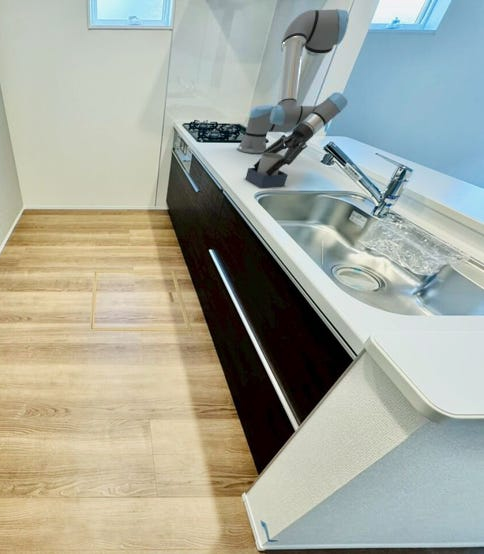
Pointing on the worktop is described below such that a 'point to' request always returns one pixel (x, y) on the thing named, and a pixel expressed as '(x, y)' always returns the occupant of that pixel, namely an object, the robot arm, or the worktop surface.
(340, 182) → the worktop surface
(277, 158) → the cup
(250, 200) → the worktop surface
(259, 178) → the dark navy open box
